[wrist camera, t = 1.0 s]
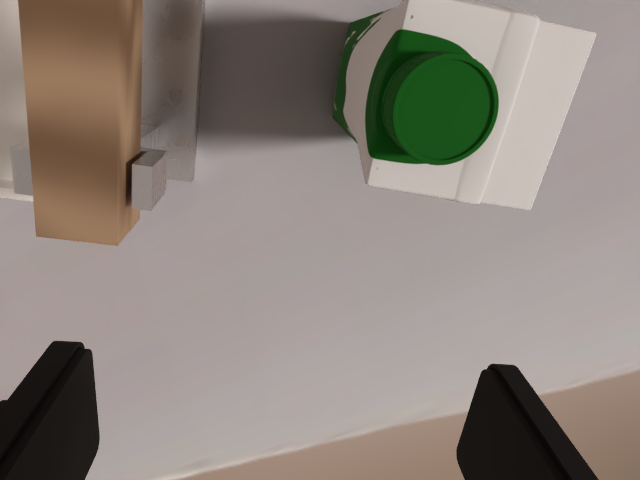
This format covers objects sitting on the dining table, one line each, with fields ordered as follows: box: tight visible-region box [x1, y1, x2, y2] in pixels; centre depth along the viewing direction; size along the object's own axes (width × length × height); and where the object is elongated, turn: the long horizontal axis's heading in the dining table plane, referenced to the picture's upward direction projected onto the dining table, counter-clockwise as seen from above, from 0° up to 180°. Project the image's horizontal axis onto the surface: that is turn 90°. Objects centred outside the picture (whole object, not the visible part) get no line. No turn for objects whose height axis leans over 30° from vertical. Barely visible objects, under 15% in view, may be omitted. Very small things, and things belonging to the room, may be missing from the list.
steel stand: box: [10, 0, 205, 211], centre depth 26 cm, size 22×7×13 cm, turn 171°
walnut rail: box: [18, 0, 143, 246], centre depth 21 cm, size 22×4×4 cm, turn 171°
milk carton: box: [333, 0, 596, 210], centre depth 26 cm, size 9×9×20 cm
